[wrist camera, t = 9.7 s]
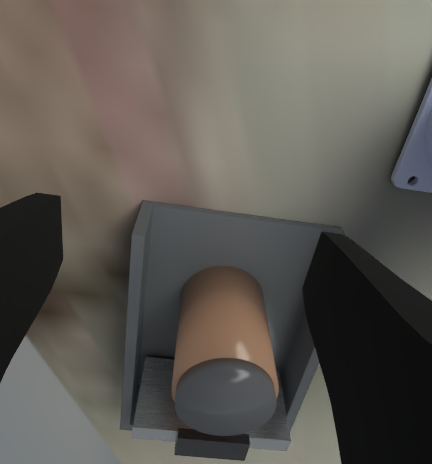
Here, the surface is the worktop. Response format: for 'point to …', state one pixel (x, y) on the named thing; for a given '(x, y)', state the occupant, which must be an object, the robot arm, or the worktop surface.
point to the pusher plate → (192, 441)
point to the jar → (224, 354)
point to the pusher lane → (209, 255)
